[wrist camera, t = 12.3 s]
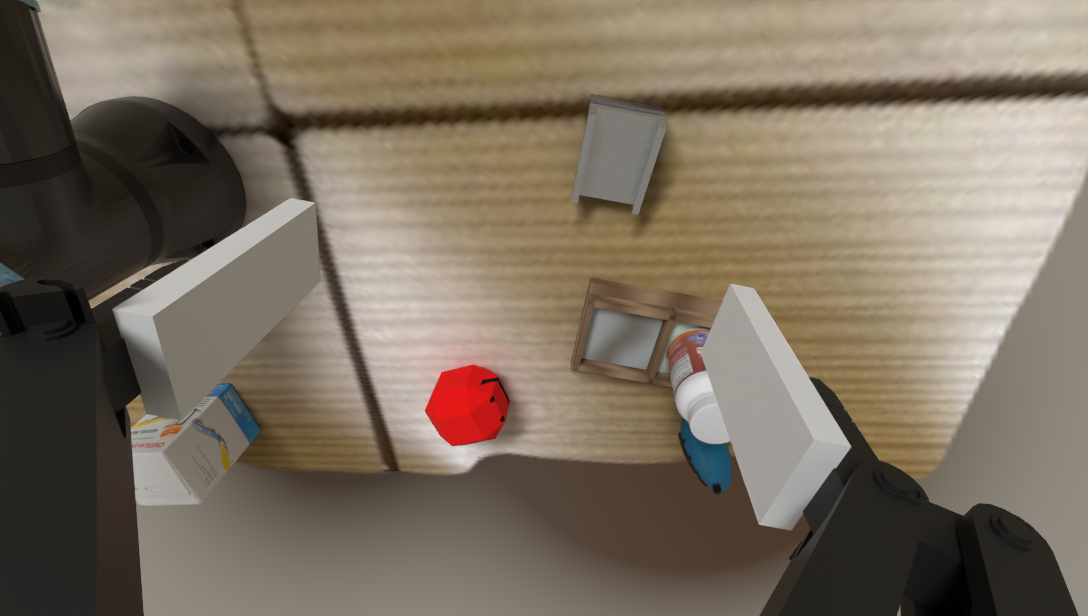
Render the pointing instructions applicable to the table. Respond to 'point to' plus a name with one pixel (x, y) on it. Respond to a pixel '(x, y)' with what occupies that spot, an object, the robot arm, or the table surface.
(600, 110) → the feeder chute
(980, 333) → the table surface
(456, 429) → the ball
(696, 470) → the ornament
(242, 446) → the ink box
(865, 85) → the table surface
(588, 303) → the divided sorting tray
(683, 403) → the pill bottle
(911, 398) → the table surface
